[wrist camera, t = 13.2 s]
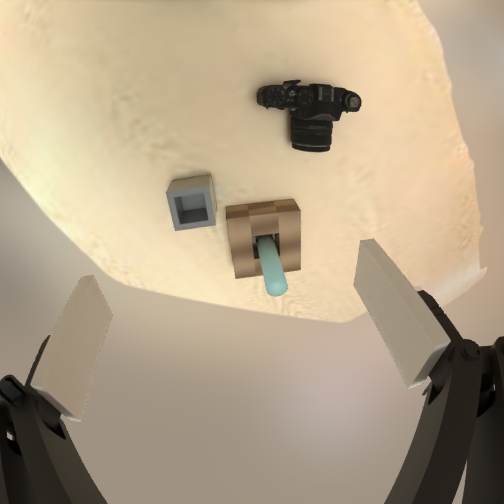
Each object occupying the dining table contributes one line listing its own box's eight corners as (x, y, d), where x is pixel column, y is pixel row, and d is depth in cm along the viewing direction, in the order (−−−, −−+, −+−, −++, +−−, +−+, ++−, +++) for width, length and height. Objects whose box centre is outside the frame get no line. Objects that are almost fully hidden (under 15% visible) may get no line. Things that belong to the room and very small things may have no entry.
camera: (255, 143, 42) (264, 157, 34) (256, 80, 37) (265, 76, 28) (335, 146, 44) (361, 161, 35) (339, 87, 38) (368, 88, 30)
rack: (225, 206, 48) (226, 219, 44) (293, 198, 48) (300, 210, 44) (234, 263, 54) (235, 278, 50) (294, 255, 55) (300, 269, 51)
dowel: (253, 226, 50) (265, 281, 37) (270, 224, 51) (287, 278, 37) (255, 240, 52) (267, 297, 39) (271, 238, 52) (288, 294, 39)
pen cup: (172, 180, 44) (166, 192, 39) (211, 174, 44) (209, 185, 39) (180, 215, 48) (175, 231, 43) (216, 209, 48) (215, 225, 43)
